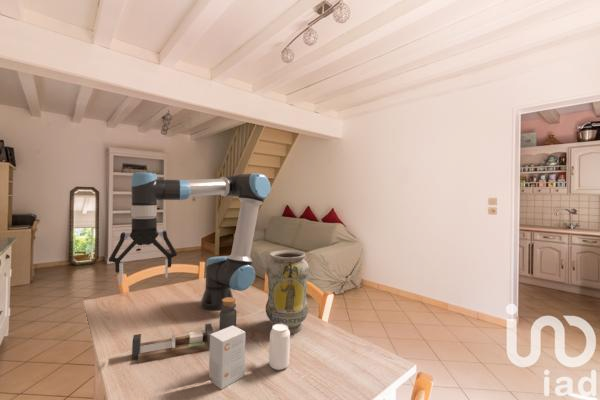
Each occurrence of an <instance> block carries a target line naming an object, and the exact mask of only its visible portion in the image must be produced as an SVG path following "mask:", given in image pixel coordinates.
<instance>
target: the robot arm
mask: <svg viewBox="0 0 600 400" xmlns="http://www.w3.org/2000/svg"><path fill="white" fill-rule="evenodd" d="M130 184H131V185H130V187H131V217H132V219H131V232H125V231H123V232H121V233H120V236H119V241H118V242H117V244H116V246H115V248H114V250H113V251H112V253H111V255H110V257H109V258H108V262H110V263H114V264H115V271H114V272H115V273H116V274H117V273H118V274H119V284H122V283H123V281H124V261H122V260H123V259H124V258H125V257H126V256H127V254H129V252H130V251H131V250H132V249H133V248H134V247H135V246H137V245H138V246H144V245H146V246H148V245H149V246H150V245H152V244H153V245H154V247H156V248H157V249H158V250H159V251H160V252H161V253H162V254H163V255H164V256H165V259H164V261H165V263H164V265H165V266H164V267H165V269H164V271H165V273H164V274H165V275H164V276H165V278H167V279H168V278H169V272H168V271H169V270H168V269H169V268H171V267H172V258H174V257H177V255H178V253H177V251H176V249H175V248H174V246H173V244H172V242H171V241H170V239H169V236H168V234H167V230H162V231H161V230H160V231H158V228H157V227H158V226H157V225H158V223H157V222H158V221H157V220H158V219H157V218H156V217H157V214H158V213H157V211H158V210H157V209H158V203H157V201H182V200H183V201H185V200H188V199H189V198H191V197H202V196H203V197H204V196H205V197H207V196H216V195H217V196H222V197H236V198H237V197H238V200H239V201H240V206H239V213H238V217H237V218H238V219H237V223H236V228H235V232H234V237H233V238H234V239H233V242H232V248H231V254H230V255H221V256H212V257H208V258H207V259H206V263H205V289H204V292H203V295H202V298H201V301H200V307H201V308H202V309H204V310H209V311H219V310H220V311H221V310H223V309H222V308H221V305H222V304H223V303H222V299H224V298H227V297H232V298H234V296H233V292H232V290H233V291H239V292H243V291H247V289H249V288H250V287H251V286H252V285H253V284H254V283H253V282H254V281H255V279H256V270H255V268H254V267H253V266H252V265H253V260H252V258H251V252H252V247H253V241H254V235H255V231H256V225H257V220H258V214H259V211H260V210H259V209H260V206H261V205H263V204H264V201H265V199H266V198H267V197H268V196H270V193H271V182H270V180H269V179H268V176H266V175H264V174H262V173H256V172H253V173H240V174H239V173H238V174H235V175H228V176H220V177H219V178H207V179H206V178H202V179H197V178H196V179H195V178H194V179H162V178H161V179H160V178H158V176H157V173H154V172H145V171H143V172H141V171H137V172H133V173H132V175H131V182H130ZM158 236H160V237H161V238H163V240H164V241H165V244H166V245H167V247H168V250H169V251H170V252H171V253H170V252H169V251H168V250H167V249H166V248H165V247H164V246H163V245H162V244H161V243H160V242H159V241H158V240H157V238H158ZM128 238H131V240H132V241H131V243H130V244H129V245H128V246H127V247H126V248H125V249H124V251H123V252H121V254H120V255H118V253H119V251H120V250H121V247H122V246H123V244H124V242H125V240H128ZM117 255H118V257H116V256H117Z"/></svg>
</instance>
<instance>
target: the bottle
mask: <svg viewBox="0 0 600 400" xmlns="http://www.w3.org/2000/svg"><path fill="white" fill-rule="evenodd" d="M222 303H223V304H222V305H221V308H222V309H221V310H220V312H219V328H218V329H219V330H218V331H220V330H222V329H225V328H227V327H230V326H232V325H233V326H235V327H237V316H238V315H237V313H238V312H237V310H236V309H235V308H236V307H237V304H236V298H235V297H233V298H232V297H227V298H224V299H222Z"/></svg>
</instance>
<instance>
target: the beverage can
mask: <svg viewBox="0 0 600 400" xmlns="http://www.w3.org/2000/svg"><path fill="white" fill-rule="evenodd" d="M290 343H291V334H290V331H289V329H288V326H287V325H285V324H275V325H274V326H273V327H272V328H271V330H270V332H269V358H268V362H269V363H268V365H269V367H270V368H272V369H274V370H276V371H282V370H284V369H286V368H287V367H288V366H289V364H290V350H291V349H290V346H291V345H290Z"/></svg>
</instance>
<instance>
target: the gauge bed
mask: <svg viewBox="0 0 600 400" xmlns="http://www.w3.org/2000/svg"><path fill="white" fill-rule="evenodd" d="M212 333H215V331H214V328H213V325H212V323H205V324H204V332H202V334H203V342H201V343H195V344H189V334H186V335H183V336H177V337H176V336H175V348H170V349H164V350H159V351H153V352H147V353H142V354H139V355H138V358H137V361H138V362H137V364H138V365H139V364H144V363H149V362H155V361H160V360H167V359H171V358H177V357H181V356H187V355H192V354H193V355H194V354H199V353H202V352H208V351H209V352H210V334H212ZM167 341H172V337H171V338H165V339H158V340H154V341H146V342H141V346H143V345H149V344H155V343H161V342H167Z"/></svg>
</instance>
